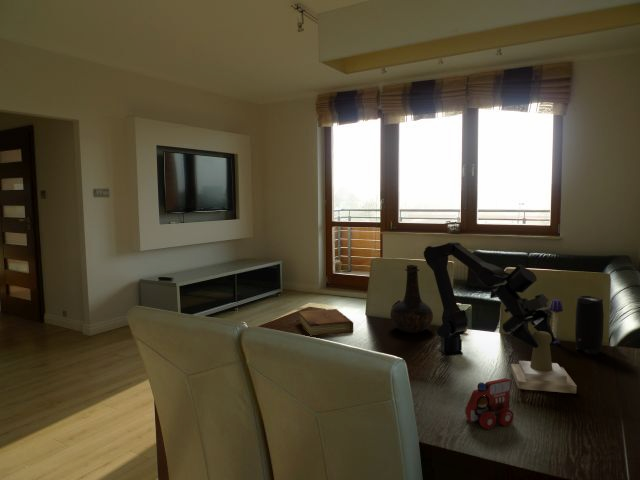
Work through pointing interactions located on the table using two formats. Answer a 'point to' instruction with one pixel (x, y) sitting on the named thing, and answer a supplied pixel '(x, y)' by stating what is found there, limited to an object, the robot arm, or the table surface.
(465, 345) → the table surface
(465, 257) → the robot arm
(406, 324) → the glass bottle
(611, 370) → the table surface
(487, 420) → the toy fire truck
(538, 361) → the brown ball-topped peg
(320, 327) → the diary
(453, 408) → the table surface
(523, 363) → the stepped square base
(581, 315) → the portable speaker
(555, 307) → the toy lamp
